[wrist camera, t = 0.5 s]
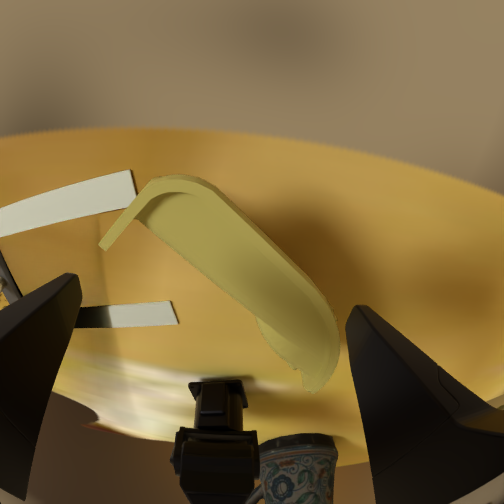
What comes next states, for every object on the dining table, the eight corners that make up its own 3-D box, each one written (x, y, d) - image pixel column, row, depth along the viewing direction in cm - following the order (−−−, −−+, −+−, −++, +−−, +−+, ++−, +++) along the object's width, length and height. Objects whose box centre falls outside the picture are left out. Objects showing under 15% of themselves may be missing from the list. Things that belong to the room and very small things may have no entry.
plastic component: (138, 193, 22) (85, 261, 14) (202, 125, 20) (174, 154, 11) (295, 326, 30) (311, 409, 22) (354, 285, 28) (391, 365, 19)
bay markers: (178, 322, 29) (177, 324, 29) (43, 327, 30) (42, 328, 30) (130, 169, 21) (129, 170, 21) (-14, 213, 22) (-15, 214, 22)
